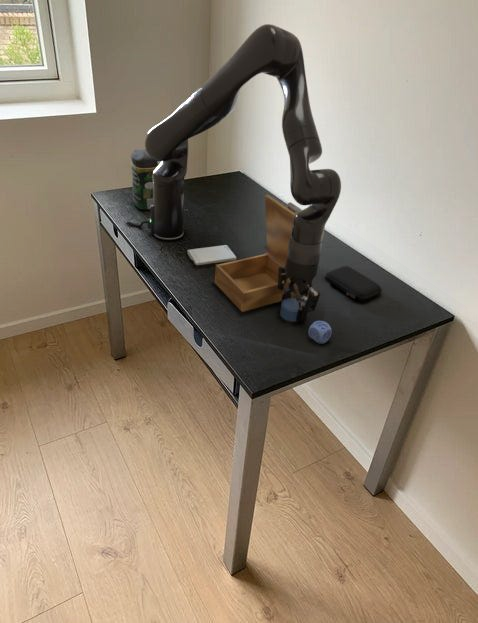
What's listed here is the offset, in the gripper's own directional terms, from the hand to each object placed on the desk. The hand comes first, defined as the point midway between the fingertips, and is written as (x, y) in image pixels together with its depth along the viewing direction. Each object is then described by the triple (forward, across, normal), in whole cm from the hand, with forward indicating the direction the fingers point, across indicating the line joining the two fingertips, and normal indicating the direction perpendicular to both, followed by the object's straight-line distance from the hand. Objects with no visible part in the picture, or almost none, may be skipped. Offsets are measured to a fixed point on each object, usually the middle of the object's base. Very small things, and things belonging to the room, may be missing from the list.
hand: (292, 313), depth 121 cm
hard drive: (+1, -34, -5) cm, 34 cm away
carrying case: (+1, -4, +23) cm, 24 cm away
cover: (-14, -13, +4) cm, 20 cm away
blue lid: (+1, 0, 0) cm, 1 cm away
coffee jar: (+1, -75, -9) cm, 76 cm away
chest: (+1, -14, -3) cm, 14 cm away
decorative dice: (+1, +10, +1) cm, 10 cm away
